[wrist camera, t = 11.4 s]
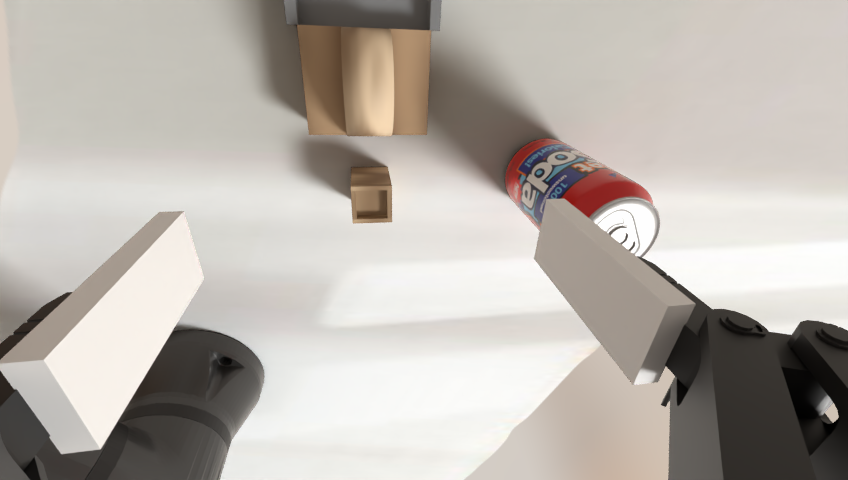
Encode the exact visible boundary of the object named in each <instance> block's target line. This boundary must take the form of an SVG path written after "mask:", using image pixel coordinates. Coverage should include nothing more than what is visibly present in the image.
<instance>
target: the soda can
mask: <svg viewBox="0 0 848 480" xmlns="http://www.w3.org/2000/svg"><path fill="white" fill-rule="evenodd" d="M505 185H506V190H507V192H508V194H509V196H510V198H511V199H512V201H513V202H514V203H515V204H516V205H517V206H518V207H519V208H520V210H521V211H522V212H523V213H524V214H525V215H526V216H527V217H528V218H529V220H530V221H531V222H532V223H533V224H534V225H535V226H536V227H537V228H538V230H539V231H540V227H541V223H542V218H543V213H544V208H545V203H546V199H566V200H567V201H568V202H569V203H571V204H572V205H573V206H574V207H576V208H577V209H578V210H579V211H581V212H582V213H583V214H584V215H586V216H587V217H588V218H589V219H591V220H592V221H593V222H594V223H596V224H597V225H598V226H599V227H601V228H602V229H603V230H604V231H606V232H607V233H608V234H609V235H611V236H612V237H613V238H614V239H616V240H617V241H618V242H619V243H620V244H622V245H623V246H624V247H625V248H627V249H628V250H629V251H630V252H632V253H633V254H634V255H635V256H639V257H641V258H642V257H643V256H644V255H645V254H646V253H647V252H648V251H649V249H650V248H651V247H652V245H653V244H654V242H655V240H656V238H657V235H658V232H659V228H660V217H659V214H658V211H657V209H656V208H655V206H654V205H653V201H652V198H651V196H650V195H649V193H648V192H647V191H646V190H645V189H644V188H643V187H642V186H641V185H639V184H637V183H636V182H634V181H632V180H631V179H629V178H627V177H625V176H623V175H621V174H620V173H618V172H616V171H614V170H612V169H611V168H609V167H607V166H605V165H603V164H602V163H600V162H598V161H596V160H594V159H592V158H591V157H589V156H587V155H585V154H583V153H582V152H580V151H578V150H576V149H574V148H573V147H571V146H569V145H567V144H565V143H563V142H561V141H559V140H555V139H549V138H546V139H539V140H535V141H533V142H531V143H529V144H527V145H525V146H524V147H523V148H521V149H520V150H519V151H518V152H517V153H516V154H515V155H514V157H513V158H512V160H511V161H510V163H509V165H508V168H507V171H506V176H505Z"/></svg>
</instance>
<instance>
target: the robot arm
mask: <svg viewBox="0 0 848 480" xmlns="http://www.w3.org/2000/svg"><path fill="white" fill-rule="evenodd" d="M534 259H535V261H536V262H537V263H538V264H539V266H540V267H541V268H542V269H543V271H544V272H545V273H546V275H547V276H548V277H549V278H550V280H551V281H552V282H553V283H554V285H555V286H556V287H557V289H558V290H559V291H560V292H561V294H562V295H563V296H564V298H565V299H566V300H567V301H568V303H569V304H570V305H571V306H572V308H573V309H574V310H575V312H576V313H577V314H578V315H579V317H580V318H581V319H582V320H583V322H584V323H585V324H586V326H587V327H588V328H589V329H590V331H591V332H592V333H593V334H594V336H595V337H596V338H597V340H598V341H599V342H600V343H601V345H602V346H603V347H604V348H605V350H606V351H607V352H608V354H609V355H610V356H611V357H612V359H613V360H614V361H615V362H616V364H617V365H618V366H619V367H620V369H621V370H622V371H623V373H624V374H625V375H626V376H627V378H628V379H629V380H630V382H631V383H632V384H633V385H637V384H646V383H654V382H658V381H659V379H660V377H661V374H662V373H663V370H664V368H665V366H667V367H668V369H669V370H670V371H671V372H672V373H673V374H674V375H675V378H674V380H673V382H672V384H671V386H670V388H669V389H668V391H667V393H666V395H665V397H664V399H663V402H662V404H661V405H662V406H665V407H666V405H667V403H668V402H669V401H670V436H669V478H668V480H848V331H847V330H845V329H843V328H841V327H839V328H838V326H835V325H833V324H827V323H823V322H819V321H810V320H807V321H802V322H800V324H799V325H798V326H797V328H796V329H795V331H794V332H793V334H792V335H787V334H780V333H773V332H768V330H767V329H766V328H765V327H764V326H762V325H761V324H760V323H759V322H757V321H755V320H753V319H752V318H750V317H748V316H746V315H743V314H740V313H738V312H735V311H730V310H726V309H714V310H713V309H711V308H710V307H709V306H707V305H706V304H705V303H704V302H702V301H701V300H700V299H698V298H697V297H696V296H695V295H693V294H692V293H691V292H689V291H688V290H687V289H686V288H684V287H683V286H682V285H680V284H677V281H675V280H674V279H673V278H672V277H670V276H667V274H666V273H665V272H664V271H663V270H661V269H660V268H659V267H657V266H656V265H655V264H653V263H651V262H649V261H647V260H645V259H643V258H641V257H639V256H635V255H634V254H633V253H632V252H630V251H629V250H628V249H627V248H625V247H624V246H623V245H622V244H620V243H619V242H618V241H617V240H616V239H614V238H613V237H612V236H611V235H609V234H608V233H607V232H606V231H604V230H603V229H602V228H601V227H599V226H598V225H597V224H596V223H594V222H593V221H592V220H591V219H589V218H588V217H587V216H586V215H584V214H583V213H582V212H581V211H579V210H578V209H577V208H576V207H574V206H573V205H572V204H571V203H569V202H568V201H567V200H566V199H546V203H545V208H544V213H543V218H542V223H541V227H540V232H539V237H538V242H537V247H536V252H535V257H534ZM203 280H204V276H203V272H202V269H201V266H200V263H199V259H198V256H197V253H196V249H195V246H194V243H193V240H192V236H191V233H190V230H189V226H188V223H187V220H186V217H185V213H184V211H179V212H159V213H158V214H157V215H156V216H154V217H153V218H152V219H151V220H150V221H149V222H148V223H147V224H146V225H145V226H144V227H143V228H142V229H140V230H139V231H138V232H137V233H136V234H135V235H134V236H133V237H132V238H131V239H130V240H129V241H128V242H126V243H125V244H124V245H123V246H122V247H121V248H120V249H119V250H118V251H117V252H116V253H115V254H114V255H112V256H111V257H110V258H109V259H108V260H107V261H106V262H105V263H104V264H103V265H102V266H101V267H100V268H98V269H97V270H96V271H95V272H94V273H93V274H92V275H91V276H90V277H89V278H88V279H87V280H86V281H84V282H83V283H82V284H81V285H80V286H79V287H78V288H77V289H76V290H75V291H74V292H69V293H65V294H63V295H62V296H60V297H58V298H56V299H55V300H53V301H51V302H49V303H48V304H46V305H44V306H43V307H42V308H41V309H39V310H38V311H37V312H36V313H35V314H34V315H33V316H31V317H30V318H29V319H28V320H27V321H28V322H27V323H24V324H22V325H21V326H20V327H19V328H18V329H17V330H16V331H15V332H14V335H11V336H9V337H8V338H7V339H5V340H4V341H3V342H2V343H1V344H0V480H220V477H221V474H222V470H223V467H224V464H225V460H226V457H227V453H228V450H229V447H230V444H231V441H232V439H233V437H234V436H235V434H236V433H237V432H238V430H239V429H240V427H241V426H242V424H243V423H244V422H245V420H246V419H247V417H248V416H249V414H250V413H251V411H252V410H253V408H254V407H255V406H256V404H257V402H258V400H259V397H260V394H261V391H262V387H263V383H264V370H263V367H262V364H261V362H260V361H259V359H258V358H257V356H256V355H255V354H254V353H253V352H252V351H251V350H250V349H249V348H247V347H246V346H245V345H243V344H242V343H240V342H238V341H236V340H234V339H232V338H230V337H227V336H224V335H221V334H217V333H213V332H208V331H199V330H184V331H176V332H172V331H173V329H174V328H175V326H176V324H177V323H178V321H179V319H180V318H181V316H182V314H183V313H184V311H185V309H186V308H187V306H188V305H189V303H190V301H191V300H192V298H193V296H194V295H195V293H196V291H197V290H198V288H199V286H200V285H201V283H202V281H203ZM833 403H834V404H835V406H836V408H837V410H838V415H839V418H838V419H837V420H836V421H835V422H834V423H832V422H831V421H830V420H829V418H828V417H827V415H826V414H825V412H826V411H827V409H828V408H829V407H830V406H831V405H832V404H833Z"/></svg>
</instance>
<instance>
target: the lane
mask: <svg viewBox="0 0 848 480" xmlns="http://www.w3.org/2000/svg"><path fill="white" fill-rule="evenodd" d="M284 7H285V15H286V23H287V24H291V25H316V26H339V27H362V28H385V29H408V30H431V31H440V18H441V0H284Z"/></svg>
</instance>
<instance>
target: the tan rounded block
mask: <svg viewBox="0 0 848 480" xmlns="http://www.w3.org/2000/svg"><path fill="white" fill-rule="evenodd" d="M297 30H298V39H299V48H300V57H301V66H302V75H303V84H304V93H305V102H306V111H307V120H308V129H309V135H347V136H392V135H427V116H428V91H429V67H430V42H431V30H408V29H385V28H362V27H339V26H316V25H297Z"/></svg>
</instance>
